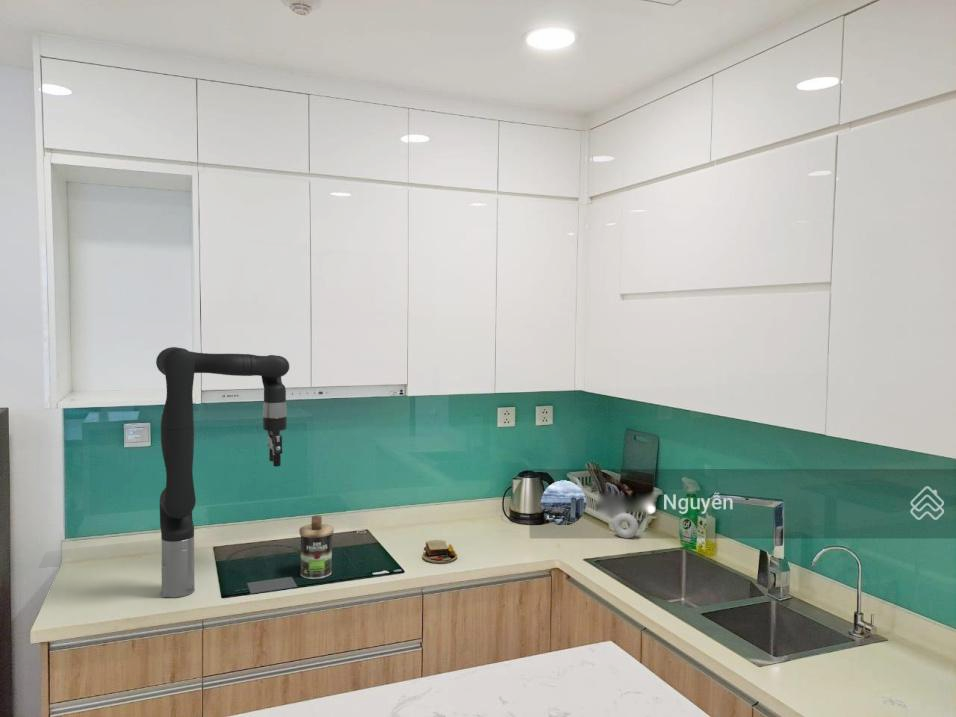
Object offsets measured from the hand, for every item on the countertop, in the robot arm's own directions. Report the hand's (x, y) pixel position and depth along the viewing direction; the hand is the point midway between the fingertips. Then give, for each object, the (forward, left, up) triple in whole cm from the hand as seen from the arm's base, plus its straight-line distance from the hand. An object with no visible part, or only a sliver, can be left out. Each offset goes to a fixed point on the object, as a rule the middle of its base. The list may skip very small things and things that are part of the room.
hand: (274, 463), depth 230 cm
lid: (+12, -9, -22) cm, 27 cm away
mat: (-3, -14, -36) cm, 39 cm away
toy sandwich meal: (+55, -10, -37) cm, 67 cm away
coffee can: (+12, -9, -36) cm, 39 cm away
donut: (+132, -17, -36) cm, 138 cm away
